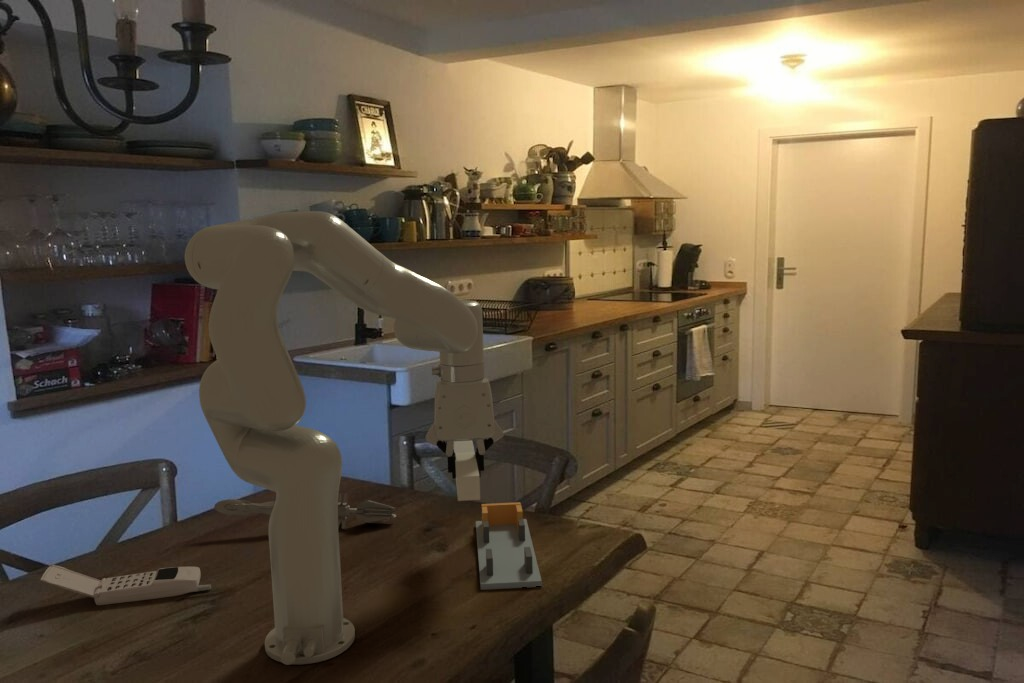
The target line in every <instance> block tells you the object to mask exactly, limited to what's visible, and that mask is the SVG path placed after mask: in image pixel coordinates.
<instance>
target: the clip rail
mask: <svg viewBox="0 0 1024 683" xmlns="http://www.w3.org/2000/svg"><path fill="white" fill-rule="evenodd" d="M522 507H523V506H522V504H521V502H520V501H519V502H499V503H498V502H496V503H481V520H476V521H475V532H476V533H475V534H476V546H477V560H478V569H479V570H478V571H479V572H478V573H479V583H480V585H479V587H480V590H481V591H482V590H485V591H486V590H504V589H522V587H527V588H537V587H536V586H543V582H542V576H541V574H540V573H541V572H540V569H539V565H538V562H537V557H536V552H535V549H534V545H533V544H534V543H533V540H532V537H531V536H532V535H531V533H530V528H529V525H528V520H527V518H523V517H524V512H523V508H522Z"/></svg>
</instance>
